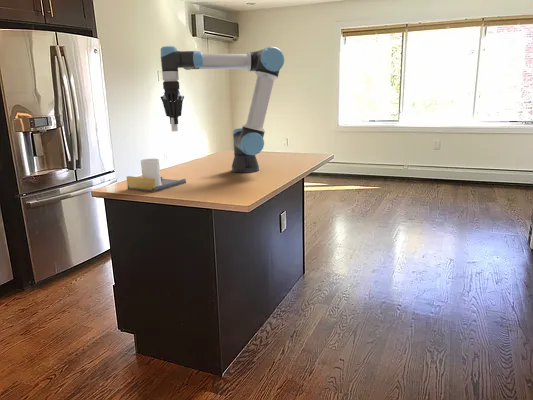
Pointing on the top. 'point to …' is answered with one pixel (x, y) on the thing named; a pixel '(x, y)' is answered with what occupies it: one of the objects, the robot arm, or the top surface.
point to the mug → (151, 170)
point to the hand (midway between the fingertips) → (174, 131)
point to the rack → (151, 184)
